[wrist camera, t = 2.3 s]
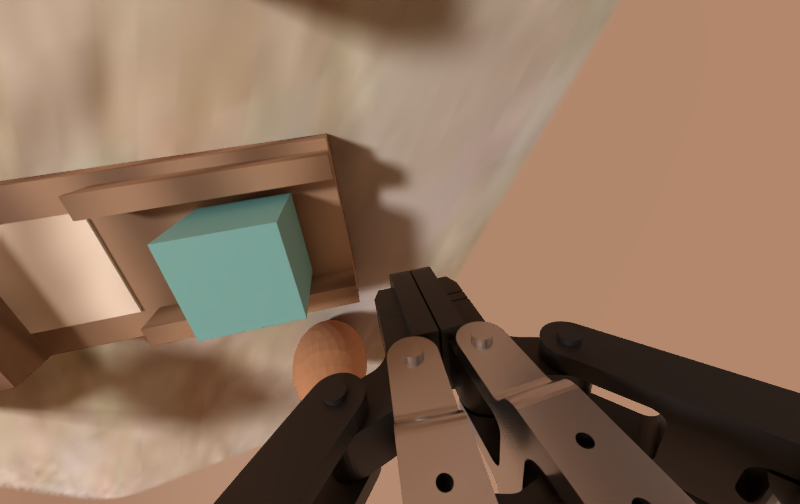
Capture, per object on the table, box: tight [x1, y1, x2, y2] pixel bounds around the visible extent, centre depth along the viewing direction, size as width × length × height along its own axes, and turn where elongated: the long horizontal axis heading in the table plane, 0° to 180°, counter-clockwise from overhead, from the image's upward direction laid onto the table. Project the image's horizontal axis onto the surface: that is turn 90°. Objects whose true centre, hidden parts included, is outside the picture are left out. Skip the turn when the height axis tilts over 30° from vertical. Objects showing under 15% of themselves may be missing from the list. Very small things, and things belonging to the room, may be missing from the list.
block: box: [148, 193, 313, 341], centre depth 16 cm, size 5×5×5 cm
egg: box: [293, 320, 367, 401], centre depth 23 cm, size 5×5×8 cm
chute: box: [0, 134, 360, 391], centre depth 18 cm, size 20×10×6 cm, turn 97°
